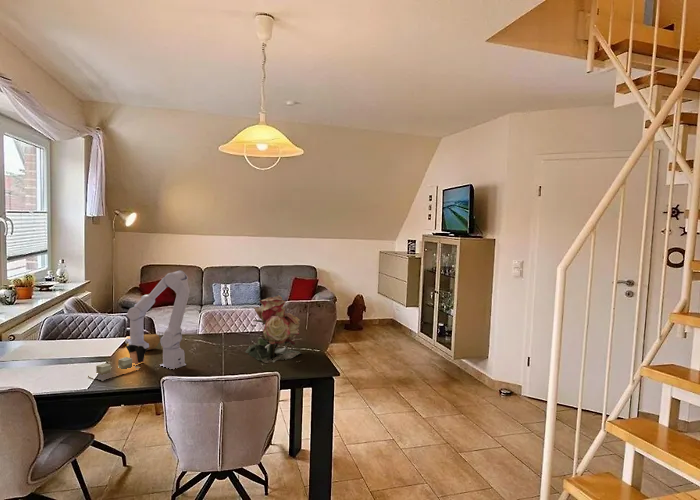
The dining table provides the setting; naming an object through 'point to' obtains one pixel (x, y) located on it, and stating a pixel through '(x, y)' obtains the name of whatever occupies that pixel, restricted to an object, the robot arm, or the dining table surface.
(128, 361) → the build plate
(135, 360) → the terracotta block
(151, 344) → the potato
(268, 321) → the rose bouquet
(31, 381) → the dining table surface
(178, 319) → the robot arm
